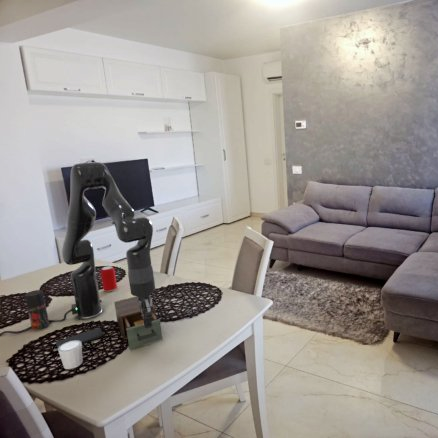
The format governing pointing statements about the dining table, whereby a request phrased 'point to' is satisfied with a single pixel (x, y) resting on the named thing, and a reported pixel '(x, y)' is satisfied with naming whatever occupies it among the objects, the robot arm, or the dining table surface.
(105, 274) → the beverage can
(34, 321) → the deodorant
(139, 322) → the block
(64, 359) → the white cup
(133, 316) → the drawer
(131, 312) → the cabinet
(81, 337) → the phone
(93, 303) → the robot arm
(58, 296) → the dining table surface
